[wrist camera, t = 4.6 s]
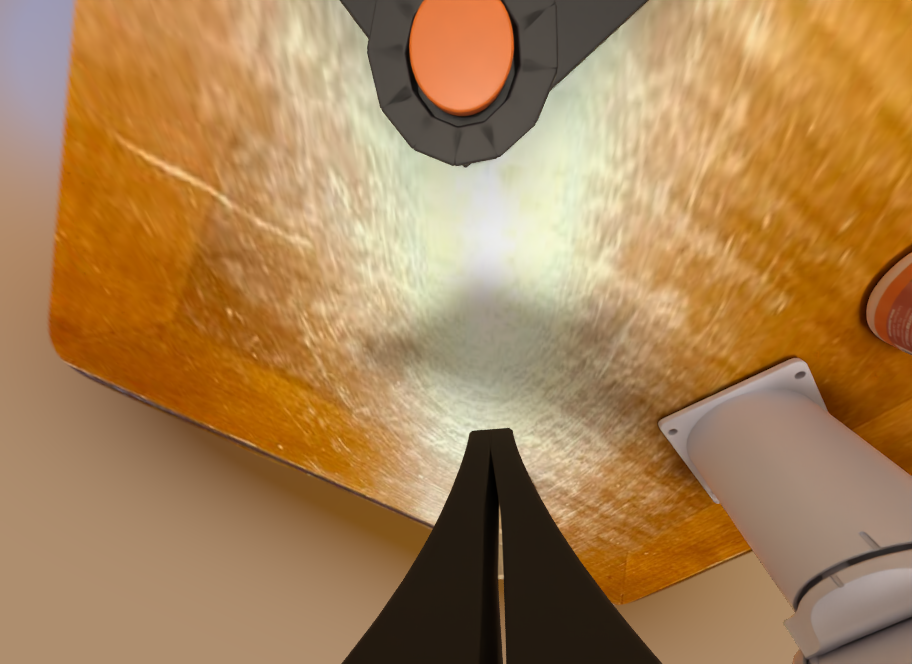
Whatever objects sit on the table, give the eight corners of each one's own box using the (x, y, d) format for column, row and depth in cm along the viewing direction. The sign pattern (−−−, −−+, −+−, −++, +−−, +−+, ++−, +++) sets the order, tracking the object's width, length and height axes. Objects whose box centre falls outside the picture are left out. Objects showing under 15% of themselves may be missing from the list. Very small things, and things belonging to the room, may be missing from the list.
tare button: (527, 68, 11) (535, 57, 10) (457, 137, 12) (455, 135, 11) (469, -30, 10) (468, -58, 9) (398, 55, 11) (386, 42, 10)
